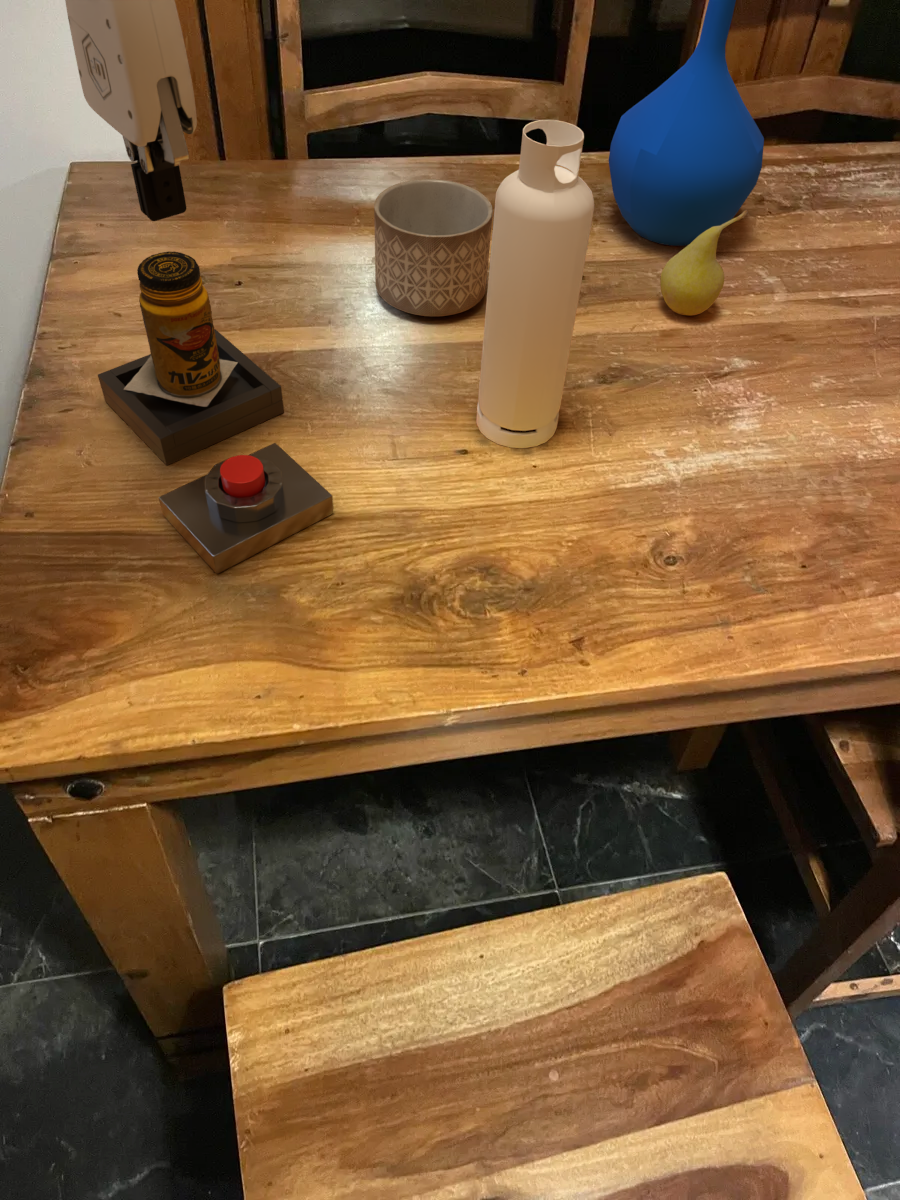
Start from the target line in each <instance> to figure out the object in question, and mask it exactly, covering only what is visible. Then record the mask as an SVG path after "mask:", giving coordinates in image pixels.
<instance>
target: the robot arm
mask: <svg viewBox="0 0 900 1200" xmlns="http://www.w3.org/2000/svg"><path fill="white" fill-rule="evenodd" d="M64 2H65V7H66V13H67V19H68V23H69V31H70V35H71V40H72V45H73V50H74V56H75V62H76V66H77V70H78V76H79V81H80V85H81V89H82V94H83V97H84V99H85V101H86V103H87V105H88V106H89V107H90V109H92V111H94V112H95V114H97V115H98V116H99V117H100V118H101V119H102V120H104V121H105V123H107V124H108V125H109V126H110V127H111V128H112V129H114V130H115V131H116V132H118V134H120V135H121V136H122V139H123V143H124V147H125V150H126V155H127V157H128V158H129V160H130V161H131V162H132V163H131V164H130V167H131V172H132V175H133V182H134V186H135V190H136V195H137V200H138V204H139V208H140V211H141V213H143V214H144V215H145V216H146V217H147V219H149V220H150V221H151V222H157V221H161V220H164V219H167V218H171V217H174V216H178V215H181V214H184V213H185V212H186V211H187V203H186V202H187V201H186V195H185V191H184V185H183V180H182V173H181V169H180V166H181V162H185V161H188V160H189V159H190V154H189V153H190V152H189V149H188V144H187V141H186V137H185V134H187V135H192V134H194V132H195V131H196V130H197V124H198V116H197V106H196V99H195V92H194V85H193V80H192V74H191V69H190V68H191V67H190V64H189V59H188V53H187V49H186V44H185V43H186V42H185V39H184V36H183V30H182V26H181V21H180V17H179V12H178V9H177V8H178V7H177V4H176V0H64ZM184 133H185V134H184Z"/></svg>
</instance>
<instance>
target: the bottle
mask: <svg viewBox="0 0 900 1200" xmlns="http://www.w3.org/2000/svg"><path fill="white" fill-rule="evenodd" d="M537 129H540V130H542V131H543V133H544V134H545V136H546V137H545V138H546V144H545V143H541V142H538V141H535V140H533V139H532V138H530V137H528V136H527V133H529V132H531V131H533V130H537ZM584 140H585V133H584V131H583V130H582V129H581V128H580V127H578V126H577V125H575V124H573V123H569V122H567V121H562V120H558V119H539V120H535V121H531V122H528V123H526V124H525V126H524V127H523V128H522V136H521V146H520V156H519V162H518V163H519V164H518V169H517V170H515V171H513V172H512V173H510V174H509V175H507V176H506V177H505V178H504V179H503V180H502V181H501V182H500V183H499V186H498V187H497V190H496V191H495V202H494V209H493V220H492V232H491V234H492V235H491V243H490V255H489V266H488V278H487V289H486V304H485V314H484V325H483V337H482V351H481V362H480V372H479V385H478V394H477V396H478V398H477V408H476V421H475V422H476V423H475V424H476V425H477V428H478V430H479V432H480V433H481V434H482V435H483V436H484V437H485V438H486V439H487V440H489V441H491V442H492V443H493V442H494V443H495V444H497V445H500V446H503V447H506V448H511V449H512V448H513V449H527V448H534V447H537V446H541V445H542V444H545V443H547V442H548V441H549V440H550V439H552V438H553V437H554V435H555V434H556V433H555V432H556V431H557V428H558V423H559V417H560V413H559V411H560V408H561V405H562V400H563V395H564V387H565V381H566V375H567V369H568V364H569V359H570V352H571V347H572V340H573V334H574V330H575V329H574V328H575V323H576V317H577V312H578V311H577V310H578V306H579V299H580V294H581V288H582V282H583V275H584V271H585V264H586V258H587V252H588V247H589V241H590V235H591V229H592V223H593V218H594V212H595V199H594V195H593V191H592V189H591V188H590V186H589V185H588V183H586V181H585V180H583V178H582V177H580V176H579V173H580V167H581V166H580V165H581V158H582V152H583V147H584V146H583V145H584ZM506 429H507V430H506ZM509 430H511V431H509ZM533 430H535V431H533ZM513 431H515V432H513ZM516 431H520V432H516ZM521 431H522V432H521ZM526 431H529V432H526Z"/></svg>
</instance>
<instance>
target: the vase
mask: <svg viewBox="0 0 900 1200" xmlns="http://www.w3.org/2000/svg"><path fill="white" fill-rule="evenodd" d="M736 3H737V0H708V2H707V7H706V11H705V13H704V14H705V15H704V18H703V22H702V27H701V31H700V36H699V41H698V42H697V44H696V46H695V49H694V50H693V53H692V54H691V55H690V56H689V58H688V59H687V60H686V62H685V63H684V64H683V65H682V66H681V67H680V68H679V69H677V71H675V72H674V73H673V74H672V75H671V76H670V77H669V78H668V79H666V80H665V81H664V82H663V83H661V84H660V85H659V86H658V87H657V88H655V89H654V90H653V91H652V92H650V93H649V94H647V96H645V97H644V98H642V99H641V100H639V101H638V102H637V103H636V104H635V105H633V106H632V107H630V108H629V109H628V110H627V111H626V112H625V113H623V114H622V115H621V117H620V119H619V121H618V123H617V126H616V129H615V130H614V134H613V136H612V140H611V142H610V149H609V154H608V168H609V174H610V182H611V189H612V194H613V197H614V200H615V202H616V204H617V207H618V210H619V212H620V215H621V217H622V218H623V219H624V220H625V221H626V222H627V224H628V225H629V227H630V228H631V229H632V230H633V232H635V233H636V234H637V235H638V236H640V237H641V238H643V239H645V240H647V241H649V242H653V243H655V244H656V243H657V244H659V245H665V246H674V247H675V246H676V247H683V246H688V245H689V244H690V243H691V242H692V241H693V240H695V239H696V238H697V237H698V236H699V235H700V234H701V233H703V232H704V231H706V230H708V229H709V228H711V227H714V226H720V225H722V224H724V223H726V222H728V221H730V220H732V219H734V218H735V216H737V213H738V212H739V211H740V210H741V208H742V206H743V205H744V204H745V202H746V200H747V199H748V197H749V196H750V195H751V193H752V192H753V190H754V189H755V187H756V186H757V184H758V181H759V177H760V174H761V171H762V168H763V157H764V148H765V147H764V145H765V144H764V143H765V138H764V136H763V134H762V131H761V129H759V126H758V125H757V123H756V121H755V120H754V118H753V116H752V115H751V113H750V111H749V109H748V108H747V106H746V104H745V102H744V100H743V98H742V96H741V95H740V93H739V90H738V88H737V86H736V84H735V83H734V82H735V81H734V79H733V77H732V76H731V74H730V72H729V68H728V63H727V59H726V45H727V40H728V36H729V32H730V28H731V24H732V20H733V16H734V11H735V6H736Z"/></svg>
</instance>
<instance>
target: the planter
mask: <svg viewBox="0 0 900 1200" xmlns="http://www.w3.org/2000/svg"><path fill="white" fill-rule="evenodd" d="M373 210H374V214H373V215H374V274H375V275H374V281H375V288H376V291H377V293H378V295H379V296H380V297H381V299H382V300H383V301H384V302H386V303H387V304H388V305H390V306H391V307H393V308H395V309H397V310H399V311H402V312H404V313H408V314H411V315H415V316H424V317H445V316H452V315H457V314H460V313H463V312H466V311H468V310H470V309H472V308H474V307H475V306H476V305H477V304H479V303H480V302H481V300H482V299H483V298H484V296H485V294H486V292H487V285H488V273H489V262H490V250H491V238H492V235H491V234H492V227H493V215H494V209H493V205H492V203H491V201H490V200H489V199H488V197H487V196H486V195H484V194H483V193H482V192H481V191H479V190H477V189H476V188H473V187H471V186H470V185H466V184H463V183H461V182H456V181H453V180H447V179H439V178H421V179H419V178H418V179H410V180H405V181H402V182H399V183H395V184H393V185H390V186H389V187H387V188H385V189H384V190H382V191H381V192H380V193H379V194H378V195H377V197H376V198H375V200H374V205H373Z"/></svg>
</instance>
